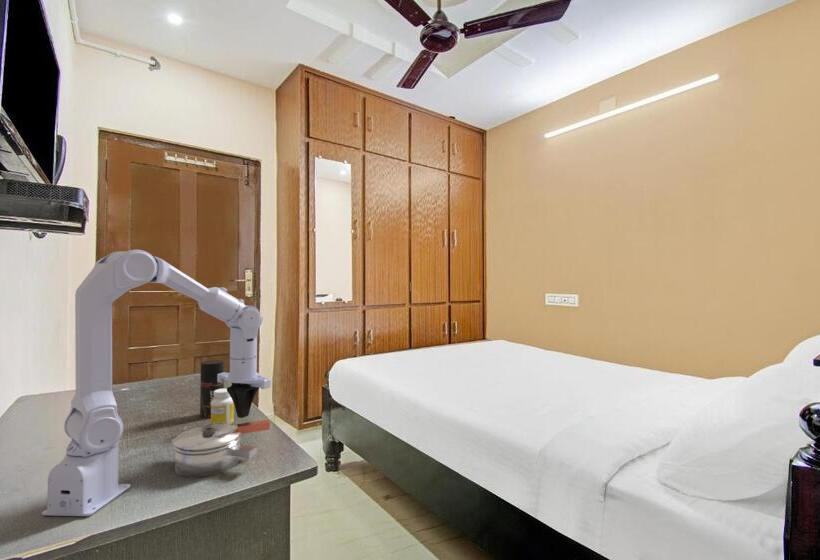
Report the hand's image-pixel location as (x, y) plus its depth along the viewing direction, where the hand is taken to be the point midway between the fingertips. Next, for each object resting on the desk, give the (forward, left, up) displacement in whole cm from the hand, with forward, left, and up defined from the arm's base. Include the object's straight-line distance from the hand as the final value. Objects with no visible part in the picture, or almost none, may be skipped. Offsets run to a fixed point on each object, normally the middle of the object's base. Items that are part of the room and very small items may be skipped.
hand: (243, 416), depth 92 cm
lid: (-7, +1, -2) cm, 7 cm away
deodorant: (+22, +19, -7) cm, 29 cm away
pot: (-9, +2, -7) cm, 11 cm away
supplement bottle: (+12, +11, -7) cm, 17 cm away
